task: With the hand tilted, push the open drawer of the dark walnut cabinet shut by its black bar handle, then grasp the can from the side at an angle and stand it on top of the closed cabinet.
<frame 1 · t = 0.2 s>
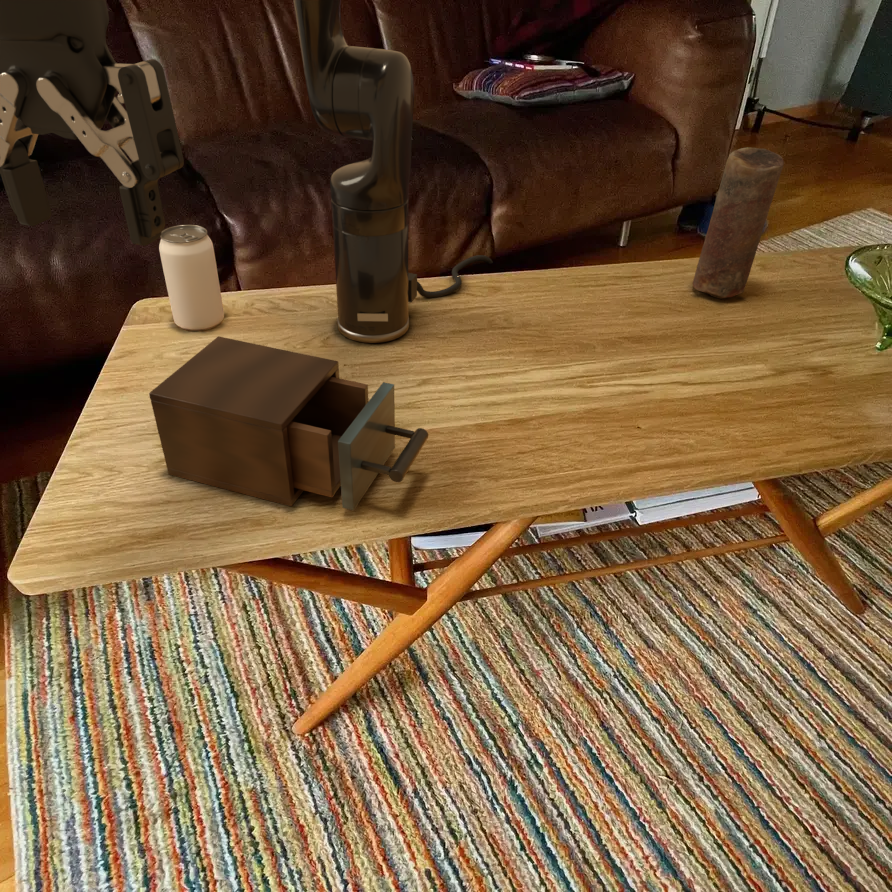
hand: (90, 231, 49), 29 cm above the table, tool pointing down, fingers open, 8 cm apart
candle: (717, 293, 113), on the table
drawer: (334, 436, 73), point 5 cm above the table, slide at 5.0 cm
can: (199, 321, 101), on the table
cabinet: (258, 456, 78), on the table
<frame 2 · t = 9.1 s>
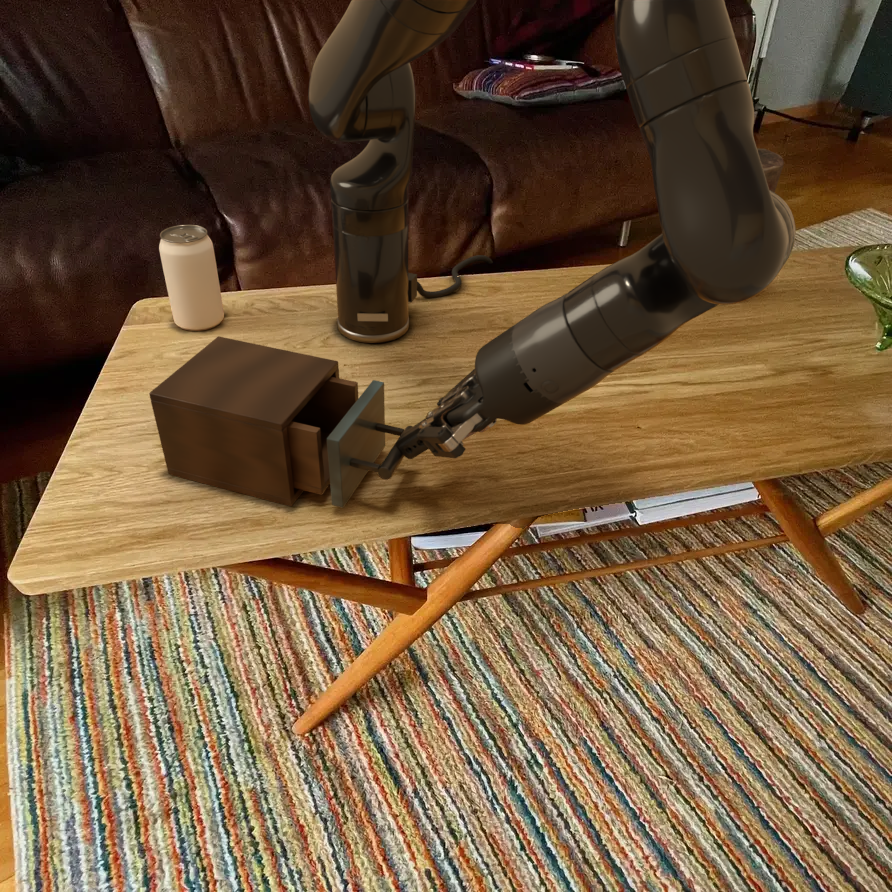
hand: (403, 448, 71), 5 cm above the table, tool tilted 45°, fingers closed
drawer: (324, 434, 73), point 5 cm above the table, slide at 3.9 cm, touching gripper
everything else where it was.
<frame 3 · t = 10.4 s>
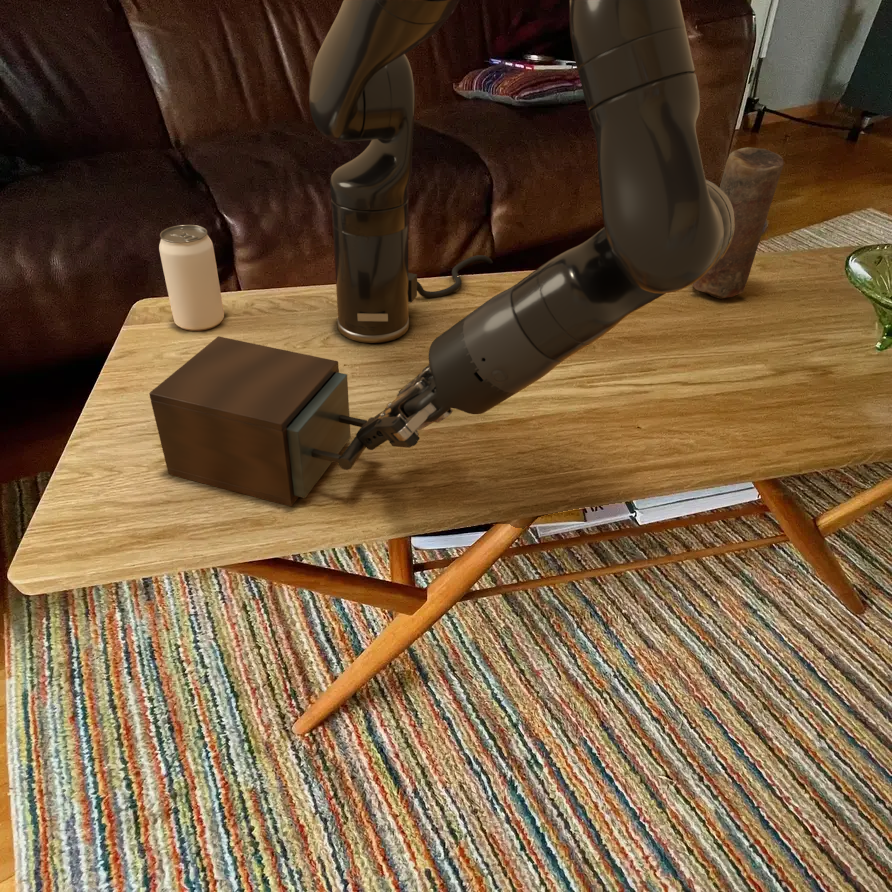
hand: (365, 439, 72), 5 cm above the table, tool tilted 45°, fingers closed
drawer: (288, 425, 74), point 5 cm above the table, slide at 0.0 cm, touching cabinet, gripper
everything else where it was.
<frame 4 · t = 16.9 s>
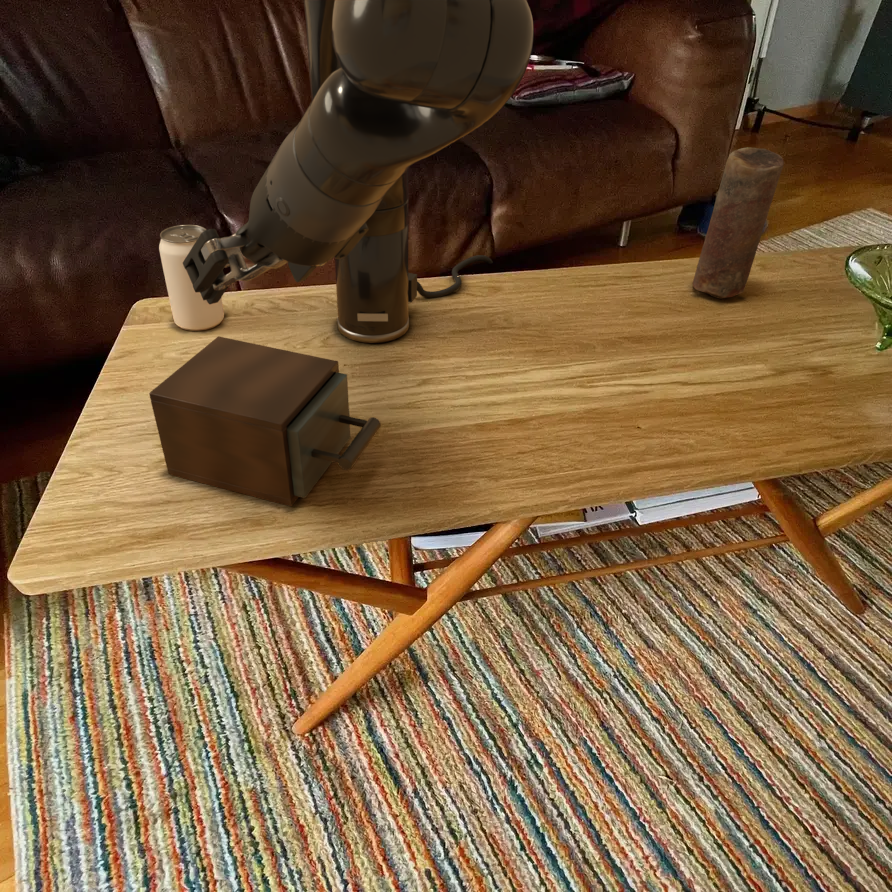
hand: (252, 282, 67), 19 cm above the table, tool tilted 45°, fingers open, 8 cm apart
drawer: (288, 425, 74), point 5 cm above the table, slide at 0.0 cm, touching cabinet
everything else where it was.
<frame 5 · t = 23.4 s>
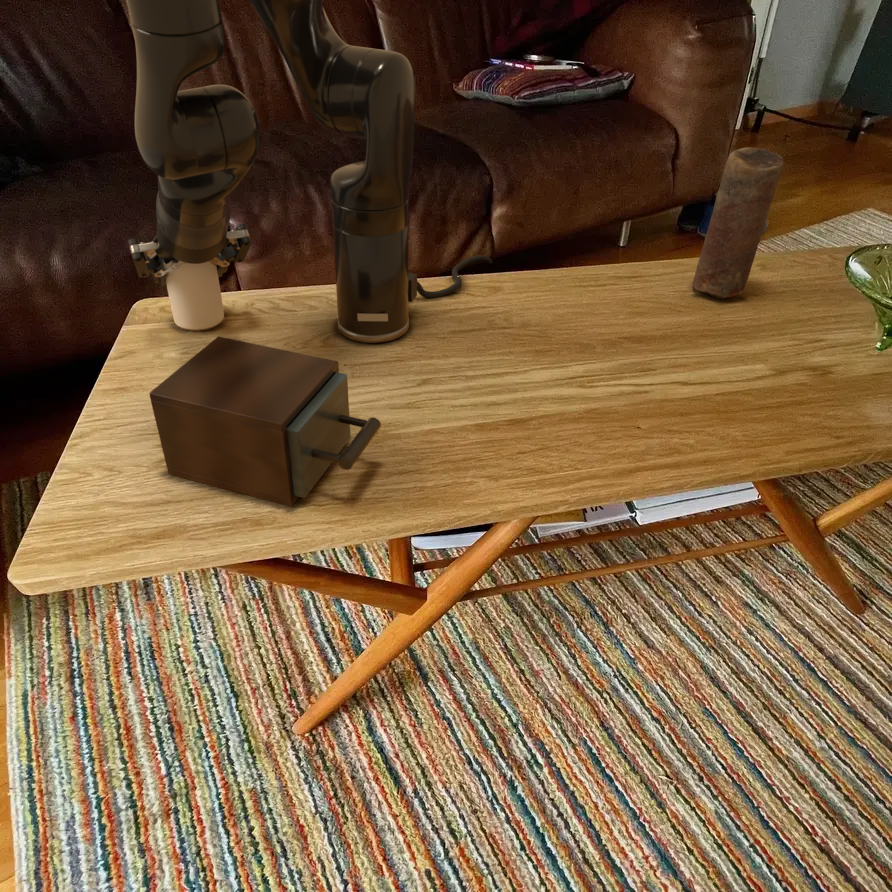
hand: (189, 274, 98), 6 cm above the table, tool tilted 45°, fingers closed on can, 6 cm apart
can: (200, 321, 101), on the table, touching gripper
everything else where it was.
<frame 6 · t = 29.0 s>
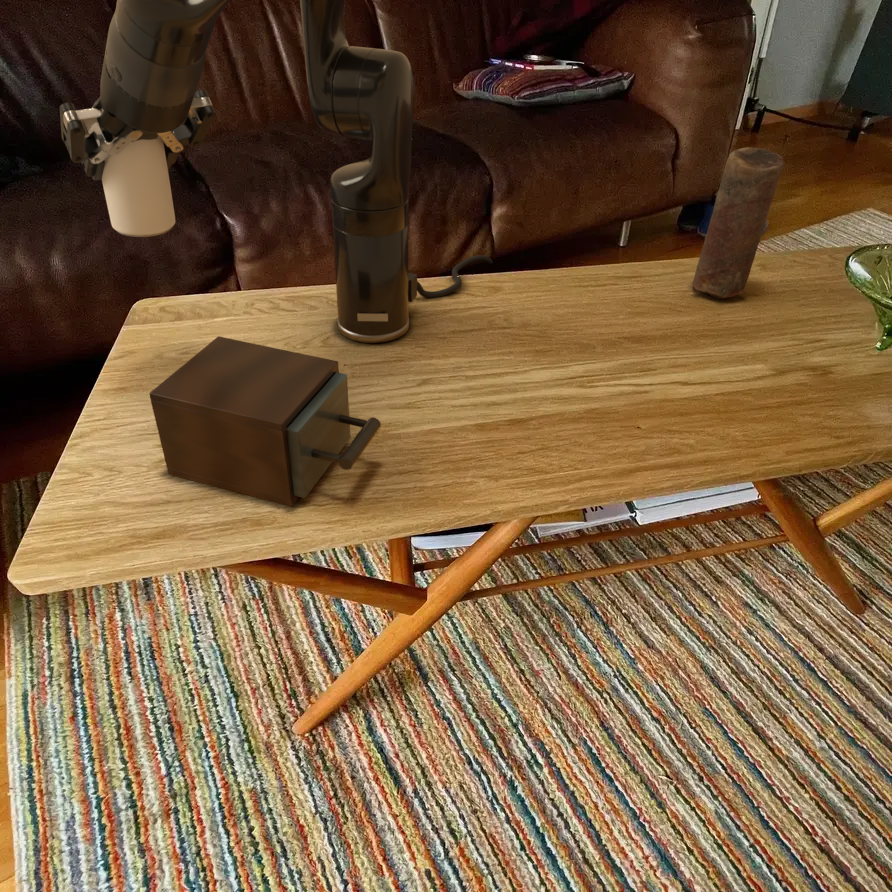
hand: (128, 166, 79), 23 cm above the table, tool tilted 45°, fingers closed on can, 6 cm apart
can: (144, 228, 81), point 17 cm above the table, touching gripper
everything else where it was.
when the fingers open (15 cm above the table, at t = 34.8 s): can stays where it is, resting on cabinet.
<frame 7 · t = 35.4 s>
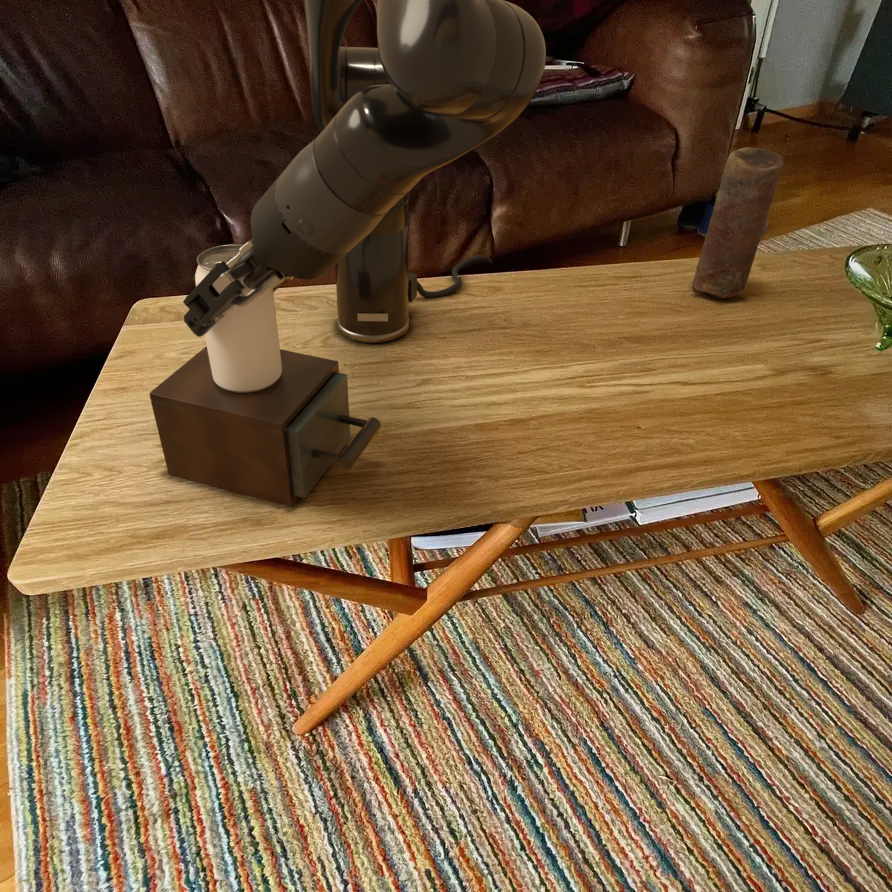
hand: (226, 307, 69), 16 cm above the table, tool tilted 45°, fingers open, 8 cm apart
can: (248, 378, 72), point 9 cm above the table, touching cabinet
everything else where it was.
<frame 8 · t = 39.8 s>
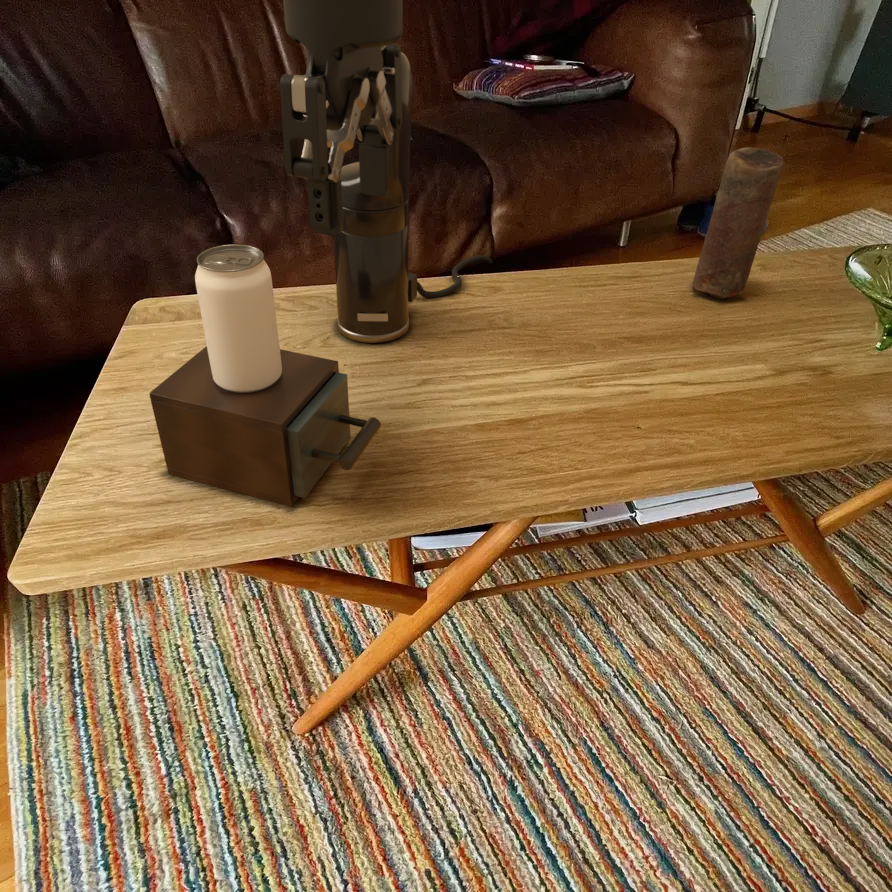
hand: (352, 212, 56), 28 cm above the table, tool pointing down, fingers open, 8 cm apart
nothing on the table moved.
at the end: drawer slide at 0.0 cm; can inside the target area on the cabinet (0.1 cm from its centre), point 9.4 cm above the cabinet's base; can tilted 0° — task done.
